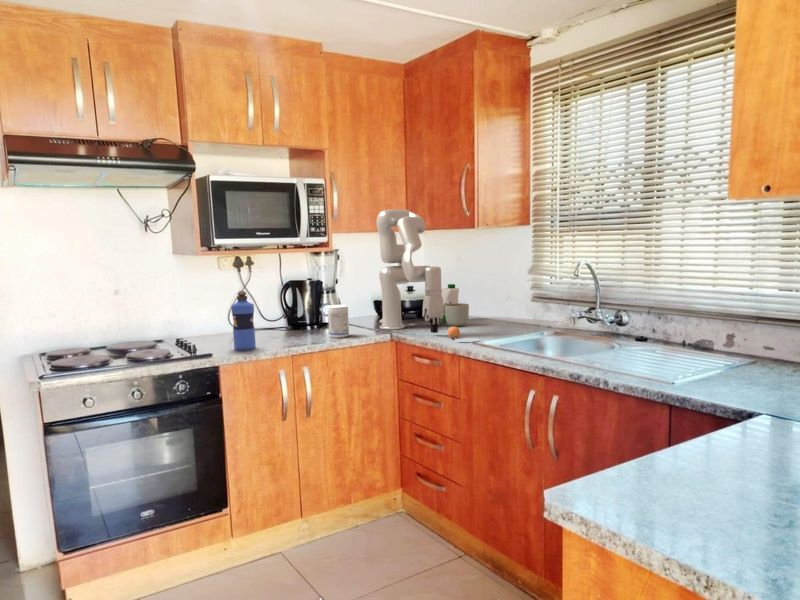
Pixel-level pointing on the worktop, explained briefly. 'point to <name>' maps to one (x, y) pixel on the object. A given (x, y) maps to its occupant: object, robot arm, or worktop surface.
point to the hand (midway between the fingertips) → (434, 332)
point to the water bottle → (243, 323)
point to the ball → (453, 332)
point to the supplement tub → (338, 321)
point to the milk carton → (449, 296)
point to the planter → (456, 314)
